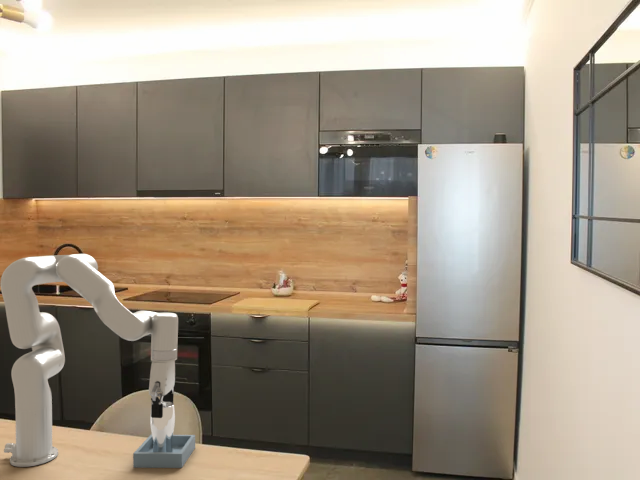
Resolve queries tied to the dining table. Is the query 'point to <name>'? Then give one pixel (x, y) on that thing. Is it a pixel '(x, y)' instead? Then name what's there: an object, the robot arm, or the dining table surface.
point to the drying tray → (164, 453)
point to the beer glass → (163, 429)
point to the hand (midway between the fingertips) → (162, 411)
